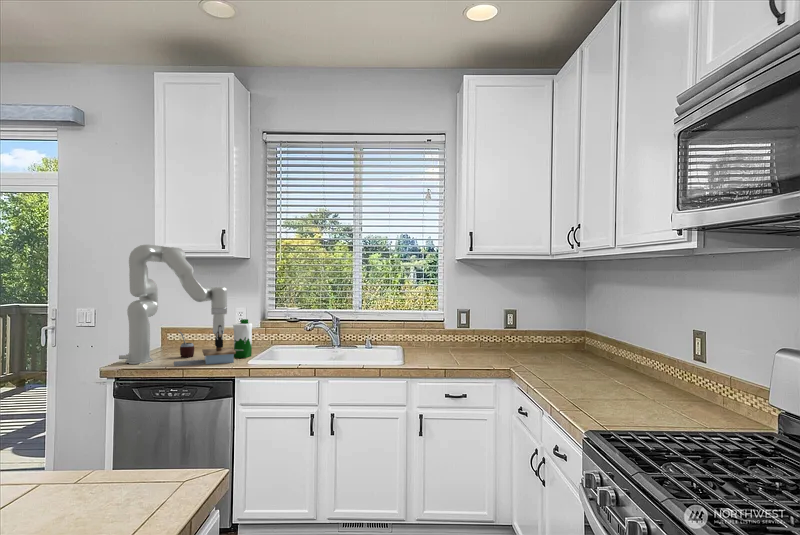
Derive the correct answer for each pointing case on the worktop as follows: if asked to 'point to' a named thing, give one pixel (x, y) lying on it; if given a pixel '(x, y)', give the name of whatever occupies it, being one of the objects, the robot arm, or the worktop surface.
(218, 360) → the dish
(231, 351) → the lid
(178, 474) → the worktop surface
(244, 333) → the milk carton
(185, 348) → the mate gourd
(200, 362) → the mat
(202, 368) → the worktop surface
